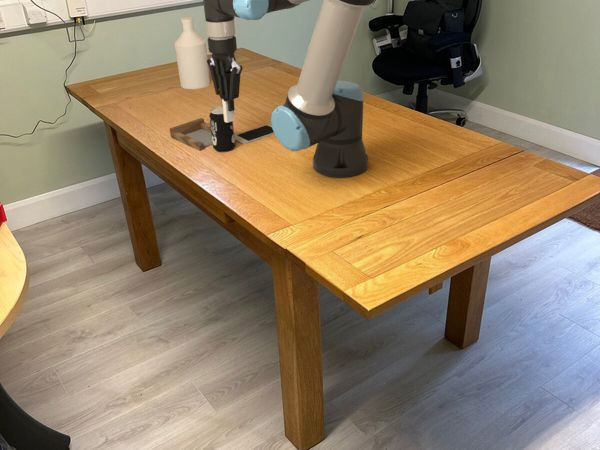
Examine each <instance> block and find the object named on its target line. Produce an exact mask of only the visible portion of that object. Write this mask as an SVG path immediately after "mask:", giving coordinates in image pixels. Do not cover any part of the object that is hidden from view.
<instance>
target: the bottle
mask: <svg viewBox="0 0 600 450" xmlns="http://www.w3.org/2000/svg"><path fill="white" fill-rule="evenodd" d="M180 23H181V24H182V30H183V31H182V32H181V33H180V35H179V36H178V38H177V39H176V40H175V42H174V43H173V44H174V45H173V46H174V51H175V57H176V64H177V70H178V76H179V82H180V87H181V88H182V89H186V90H198V89H202V88H206V87H208V86H210V84H211V81H210V68H209V66H208V64H207V60H208V51H207V50H208V49H207V41H206V40H205V38H204V37H201V36H200V35H199V34H198V33H197V32H196V31H195V30H194V17H193V16H192V17H191V16H185V17H181V18H180Z"/></svg>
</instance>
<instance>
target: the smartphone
mask: <svg viewBox="0 0 600 450" xmlns="http://www.w3.org/2000/svg"><path fill="white" fill-rule="evenodd" d="M272 135H275V133H274V131H273V129H272V124H271V123H267V124H264V125H262V126H259V127H256V128H253V129H250V130H246V131H243V132H241V133H238V134H234V138H235V142H238V143H240V144H242V145H245V144H249V143H252V142H254V141H258V140H261V139H263V138H267V137H270V136H272Z"/></svg>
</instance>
